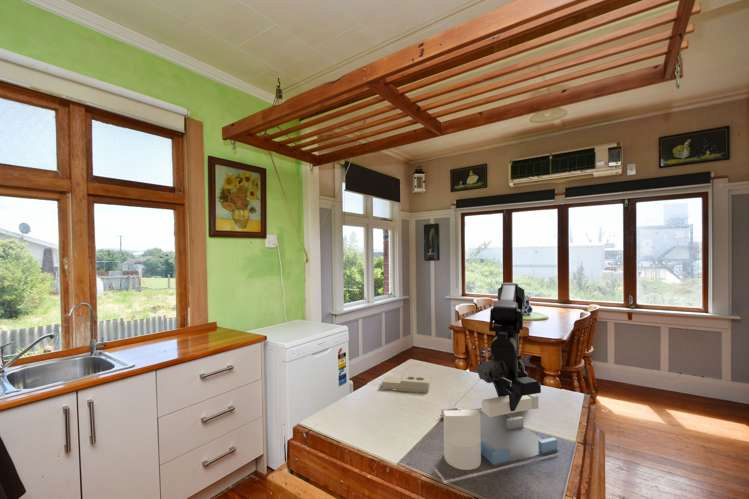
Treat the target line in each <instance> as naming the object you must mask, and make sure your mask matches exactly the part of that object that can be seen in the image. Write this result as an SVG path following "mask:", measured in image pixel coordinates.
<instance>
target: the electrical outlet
mask: <svg viewBox="0 0 749 499" xmlns="http://www.w3.org/2000/svg"><path fill="white" fill-rule="evenodd" d="M430 385H431V383H430V376H427V375H426V376H425V375H415V374H412V375H410V374H402V376H399V375H397V376H396V375H385V376H384V377H383V379H382V381H381V389H382V390H388V389H396V390H395V391H401V390H405V392H413V391H415V393H427V394H428V393H429V391H430V387H431V386H430Z"/></svg>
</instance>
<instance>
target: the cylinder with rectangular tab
mask: <svg viewBox="0 0 749 499" xmlns="http://www.w3.org/2000/svg"><path fill="white" fill-rule="evenodd" d="M443 450H444V451H443V452H444V453H443V457H444V461H445V462H446V463H447V464H448V465H450V466H451V467H453V468H455V469H458V470H463V471H464V470H465V471H470V470H472V471H473V470H475V469H477V468H479V467H480V465H481V463H482V454H481V431H480V413H479V412H478V411H477V410H472V409H460V410H459V409H457V410H444V418H443Z"/></svg>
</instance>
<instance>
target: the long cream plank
mask: <svg viewBox="0 0 749 499" xmlns="http://www.w3.org/2000/svg"><path fill="white" fill-rule="evenodd" d="M480 401H481V402H480V403H481V407H480V408H481V410H482V412H484V413H485V414H486V415H488V416H489V417H493V416H498V415H504V414H505V415H508V414H514V413H518V412H519V413H520V412H525V411H529V410H536V409H539V395H537V394H531V395H525V396H524V395H523V396H522V398H521V399H520V401H519V403H518V405H517V407H516V409H515V411H511V410H510V404H509V395H507V396H501V397H498V396H497V397H496V396H495V397H492V398H491V397H490V398H485V399H481V400H480Z"/></svg>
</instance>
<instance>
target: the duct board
mask: <svg viewBox="0 0 749 499" xmlns="http://www.w3.org/2000/svg"><path fill="white" fill-rule="evenodd" d="M444 410H458V407H457V406H448V407H443V408H441V414H440V415H439V416H440V417H441V418H442V419H444ZM471 410H477V411H478V412H479V413H480V431H481V456H483V457H484V459H485V458H486V460H487V461H489V462H490V464H492V465H493V466H494V467H495V466H499V467H502V465H503V464H505V465H506V464H507V466H508V465H510V463H511V462H517V461H520V460H525V459H528V458H533V457H536V459H537V458H538V457H537V456H540V458H541V457H543V456H542V455H544V454H546V455H544V457H545V456H547V454H549V453H552V452H557V451H559V449H558V439H557V438H556V437H554V436H553V437H548V438H544V439H543V438H542V437H540V436H539V435H537V434H535V433H534V432H532V431H531V430H529V429H528V428H527V427H525V426H524V417H523V416H520V415H519V416H514V417H510V416H509V415H508V414H504V415H498V416H493V417H489V416H488V415H486V414H485V413H484V412H482V410H481V407H479V408H473V409H472V408H471ZM508 463H509V464H508ZM512 464H514V463H512ZM512 464H511V465H512ZM500 465H501V466H500ZM505 465H504V466H505Z"/></svg>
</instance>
